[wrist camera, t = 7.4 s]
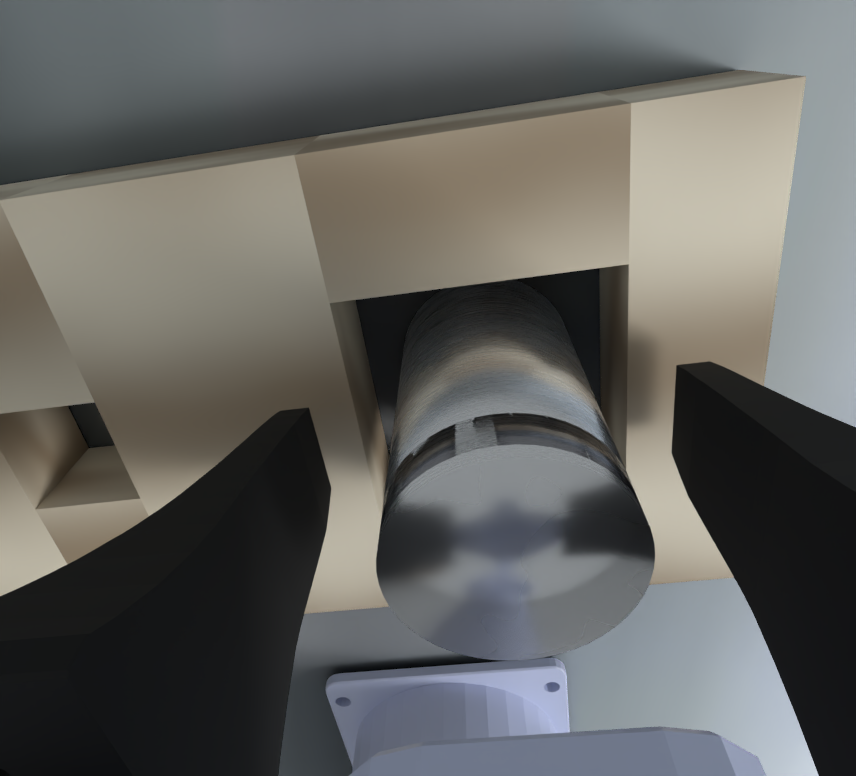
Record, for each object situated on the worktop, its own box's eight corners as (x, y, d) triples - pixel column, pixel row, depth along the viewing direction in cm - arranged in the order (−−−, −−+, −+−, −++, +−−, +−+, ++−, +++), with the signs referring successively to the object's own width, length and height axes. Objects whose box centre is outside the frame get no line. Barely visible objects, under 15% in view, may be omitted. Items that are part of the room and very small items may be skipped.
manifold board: (700, 509, 17) (737, 577, 15) (31, 572, 19) (-22, 641, 17) (740, 70, 12) (805, 76, 10) (-194, 215, 14) (-315, 248, 11)
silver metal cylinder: (572, 413, 16) (654, 648, 10) (419, 433, 16) (404, 670, 10) (563, 263, 14) (657, 439, 8) (389, 291, 14) (347, 477, 8)
